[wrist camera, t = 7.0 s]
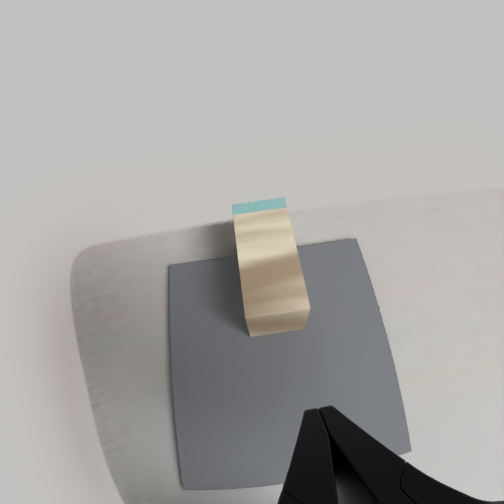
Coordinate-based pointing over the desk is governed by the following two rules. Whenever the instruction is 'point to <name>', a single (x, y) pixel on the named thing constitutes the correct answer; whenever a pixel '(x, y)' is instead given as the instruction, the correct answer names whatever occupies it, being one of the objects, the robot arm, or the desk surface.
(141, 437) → the desk surface
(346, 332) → the rubber mat
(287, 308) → the birch block
